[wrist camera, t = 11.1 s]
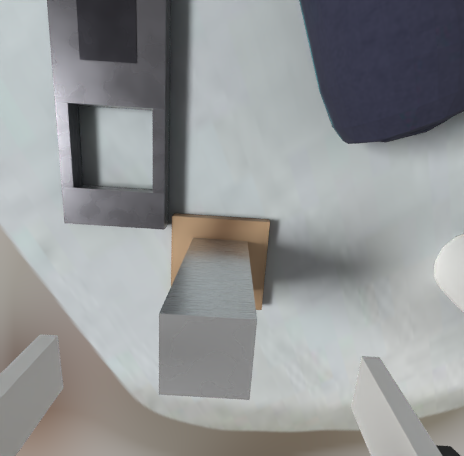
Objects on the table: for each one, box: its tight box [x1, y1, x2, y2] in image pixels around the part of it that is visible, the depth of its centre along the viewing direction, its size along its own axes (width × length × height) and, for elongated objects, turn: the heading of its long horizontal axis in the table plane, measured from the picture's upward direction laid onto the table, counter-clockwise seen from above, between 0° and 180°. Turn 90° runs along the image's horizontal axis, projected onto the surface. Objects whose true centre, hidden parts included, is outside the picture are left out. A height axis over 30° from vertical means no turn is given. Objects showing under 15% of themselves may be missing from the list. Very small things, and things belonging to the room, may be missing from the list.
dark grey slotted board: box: [47, 0, 171, 229], centre depth 24 cm, size 8×18×2 cm, turn 176°
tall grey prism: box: [159, 238, 257, 400], centre depth 21 cm, size 4×4×12 cm
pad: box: [171, 213, 270, 310], centre depth 27 cm, size 8×8×1 cm
